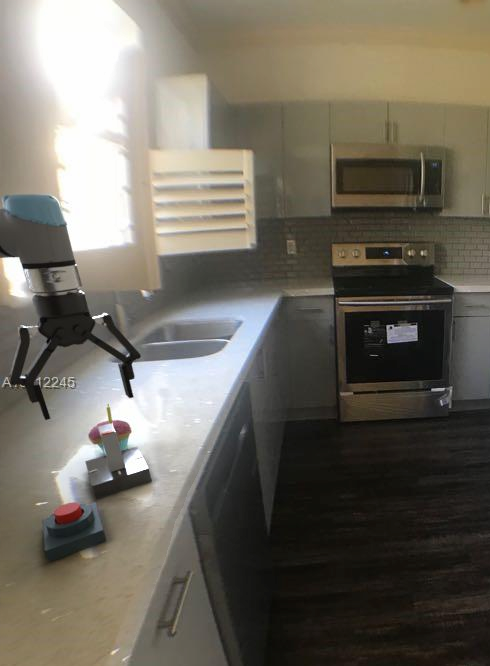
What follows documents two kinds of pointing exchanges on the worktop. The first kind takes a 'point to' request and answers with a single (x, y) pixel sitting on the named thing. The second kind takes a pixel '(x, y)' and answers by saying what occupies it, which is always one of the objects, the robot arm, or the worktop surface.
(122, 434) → the cupcake
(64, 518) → the button
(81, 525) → the button box
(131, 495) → the worktop surface
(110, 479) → the plate
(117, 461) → the hob knob
